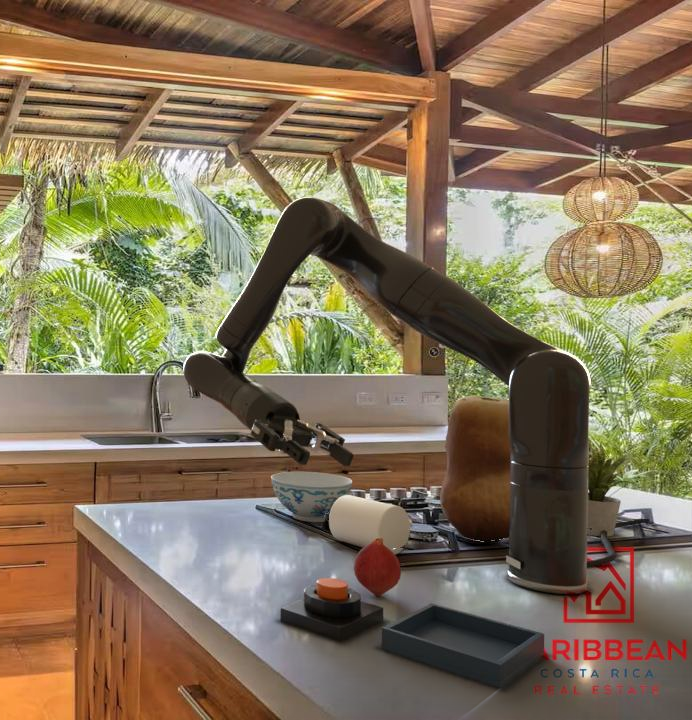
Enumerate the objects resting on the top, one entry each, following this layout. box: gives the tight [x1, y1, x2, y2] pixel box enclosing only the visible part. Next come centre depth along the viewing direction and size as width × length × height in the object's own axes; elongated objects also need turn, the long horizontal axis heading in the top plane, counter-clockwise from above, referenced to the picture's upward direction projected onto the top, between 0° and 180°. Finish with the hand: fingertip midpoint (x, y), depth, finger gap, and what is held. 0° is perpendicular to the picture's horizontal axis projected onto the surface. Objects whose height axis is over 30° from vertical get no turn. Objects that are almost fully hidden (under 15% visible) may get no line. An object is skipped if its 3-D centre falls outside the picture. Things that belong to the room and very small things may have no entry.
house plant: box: [587, 443, 648, 537], centre depth 130 cm, size 14×14×16 cm
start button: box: [316, 577, 349, 600], centre depth 90 cm, size 4×4×2 cm
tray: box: [381, 602, 545, 689], centre depth 81 cm, size 12×12×2 cm
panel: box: [280, 584, 384, 643], centre depth 90 cm, size 10×8×4 cm
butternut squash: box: [439, 395, 511, 544], centre depth 126 cm, size 14×13×25 cm
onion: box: [353, 537, 402, 597], centre depth 99 cm, size 6×6×8 cm
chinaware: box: [270, 471, 353, 523], centre depth 143 cm, size 15×15×8 cm
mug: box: [328, 494, 413, 555], centre depth 123 cm, size 12×10×8 cm
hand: (328, 460), depth 108 cm, fingers open, 8 cm apart
